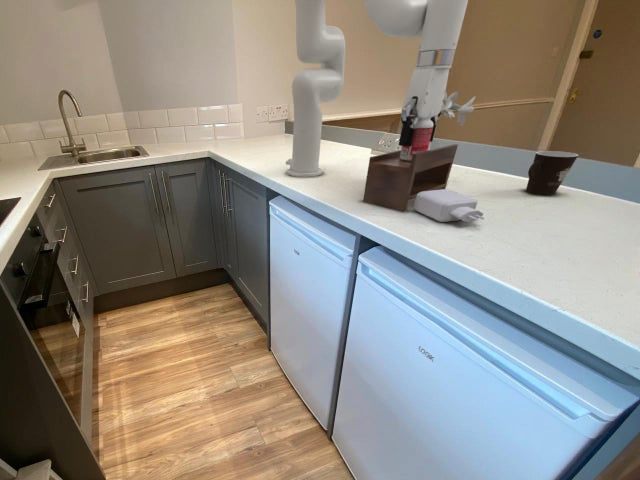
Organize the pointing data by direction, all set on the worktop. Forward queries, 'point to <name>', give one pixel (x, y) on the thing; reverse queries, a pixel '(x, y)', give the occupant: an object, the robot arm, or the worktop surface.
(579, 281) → the worktop surface
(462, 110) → the flower vase
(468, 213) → the charger
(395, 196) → the box
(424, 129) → the pill bottle
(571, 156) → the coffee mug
